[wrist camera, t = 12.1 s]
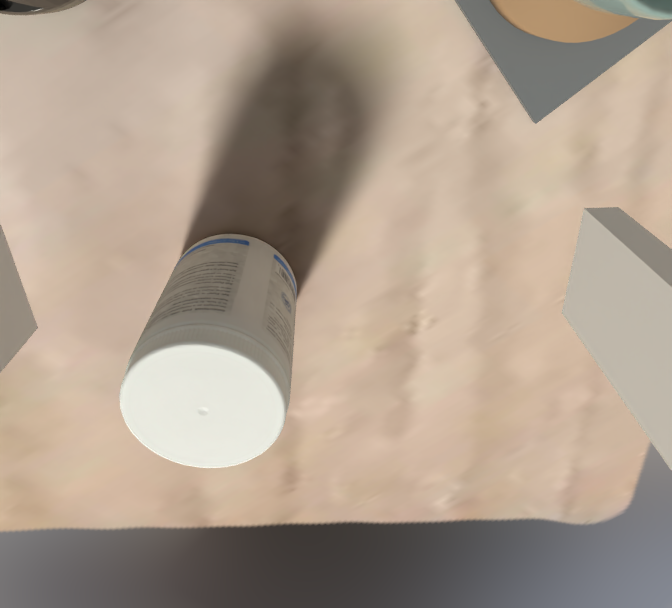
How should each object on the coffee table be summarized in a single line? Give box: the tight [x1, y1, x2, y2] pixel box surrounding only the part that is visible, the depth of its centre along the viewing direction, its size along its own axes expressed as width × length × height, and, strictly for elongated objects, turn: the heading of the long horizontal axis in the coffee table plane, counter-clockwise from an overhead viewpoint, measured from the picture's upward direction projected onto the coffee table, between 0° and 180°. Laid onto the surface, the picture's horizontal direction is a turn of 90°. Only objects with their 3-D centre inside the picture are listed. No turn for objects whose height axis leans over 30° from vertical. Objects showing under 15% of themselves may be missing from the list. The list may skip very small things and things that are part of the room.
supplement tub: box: [120, 234, 297, 468], centre depth 37 cm, size 10×10×15 cm
